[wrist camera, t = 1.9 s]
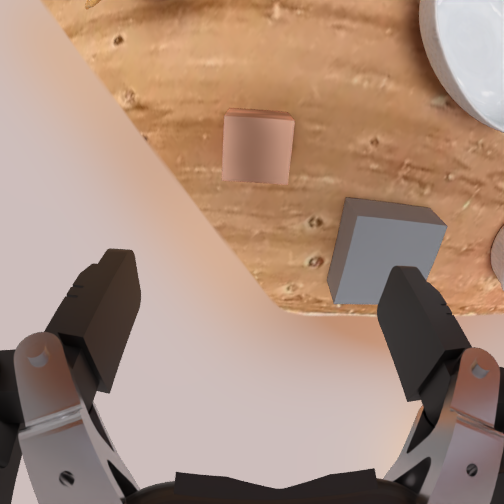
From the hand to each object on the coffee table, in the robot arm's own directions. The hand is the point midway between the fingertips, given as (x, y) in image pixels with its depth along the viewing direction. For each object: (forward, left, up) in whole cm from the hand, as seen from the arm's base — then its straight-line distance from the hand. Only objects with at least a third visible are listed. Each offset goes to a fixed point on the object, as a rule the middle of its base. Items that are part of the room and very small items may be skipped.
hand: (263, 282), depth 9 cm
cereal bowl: (-20, -14, -20) cm, 32 cm away
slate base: (-14, +10, -20) cm, 26 cm away
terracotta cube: (0, 0, -20) cm, 20 cm away
